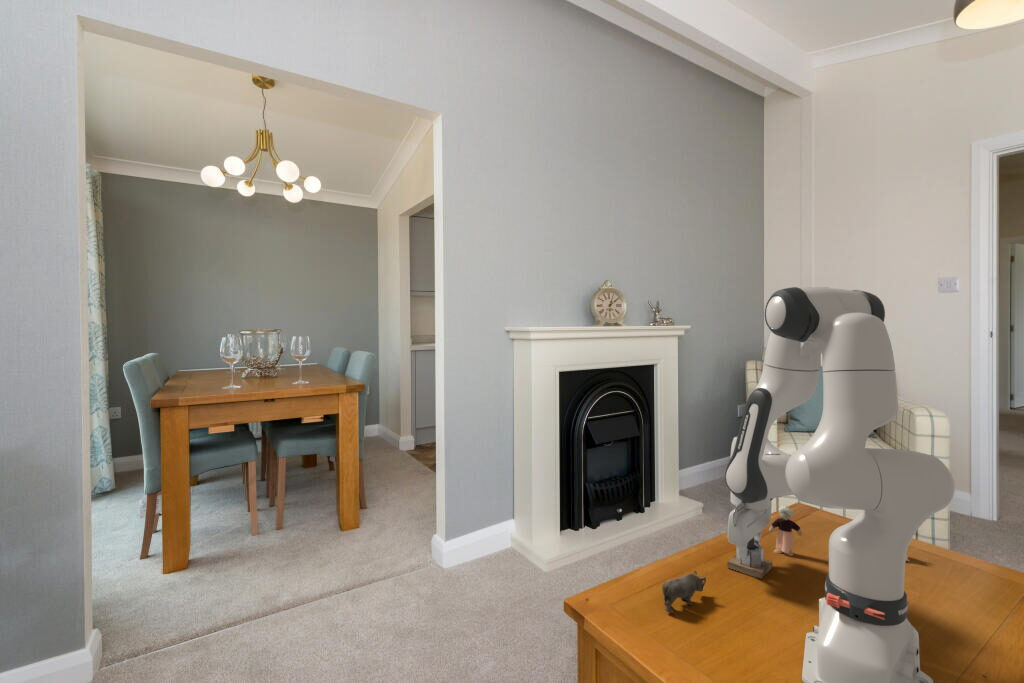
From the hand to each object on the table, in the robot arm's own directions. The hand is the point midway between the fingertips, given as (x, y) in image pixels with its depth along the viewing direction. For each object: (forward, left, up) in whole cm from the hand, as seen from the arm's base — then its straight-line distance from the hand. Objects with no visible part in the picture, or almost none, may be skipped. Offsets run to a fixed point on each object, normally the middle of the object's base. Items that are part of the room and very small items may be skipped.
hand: (749, 551), depth 122 cm
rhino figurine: (-26, +5, -4) cm, 26 cm away
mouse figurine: (+32, -24, -4) cm, 41 cm away
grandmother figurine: (+15, -4, -4) cm, 16 cm away
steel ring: (0, 0, -3) cm, 3 cm away
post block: (0, 0, -4) cm, 4 cm away
